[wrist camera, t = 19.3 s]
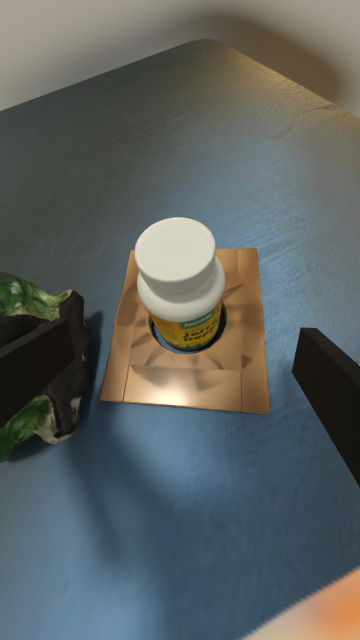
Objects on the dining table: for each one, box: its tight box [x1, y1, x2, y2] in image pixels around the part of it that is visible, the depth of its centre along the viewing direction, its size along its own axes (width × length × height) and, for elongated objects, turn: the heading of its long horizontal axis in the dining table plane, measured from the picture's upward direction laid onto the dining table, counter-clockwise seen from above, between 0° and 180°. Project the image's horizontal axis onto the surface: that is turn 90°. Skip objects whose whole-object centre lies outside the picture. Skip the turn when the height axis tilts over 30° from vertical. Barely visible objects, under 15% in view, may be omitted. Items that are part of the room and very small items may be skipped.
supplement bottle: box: [135, 217, 225, 350], centre depth 15 cm, size 5×5×10 cm
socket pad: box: [100, 248, 270, 414], centre depth 19 cm, size 12×14×2 cm
